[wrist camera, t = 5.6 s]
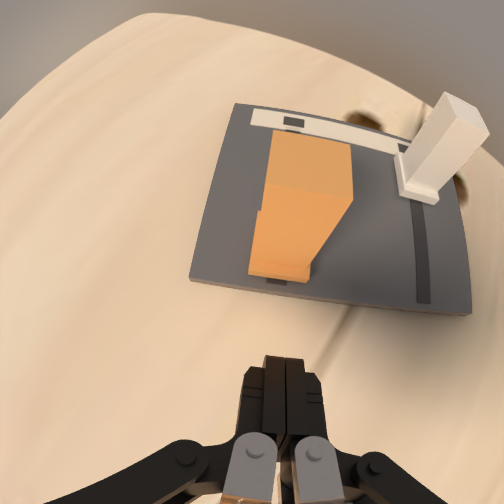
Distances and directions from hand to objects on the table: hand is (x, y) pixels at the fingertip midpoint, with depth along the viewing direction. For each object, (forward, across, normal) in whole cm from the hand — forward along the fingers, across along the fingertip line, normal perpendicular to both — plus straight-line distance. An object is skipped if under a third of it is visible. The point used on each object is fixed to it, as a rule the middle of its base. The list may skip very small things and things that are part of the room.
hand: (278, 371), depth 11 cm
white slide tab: (+17, -12, -7) cm, 22 cm away
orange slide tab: (+11, 0, -1) cm, 11 cm away
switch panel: (+16, -6, -4) cm, 17 cm away
